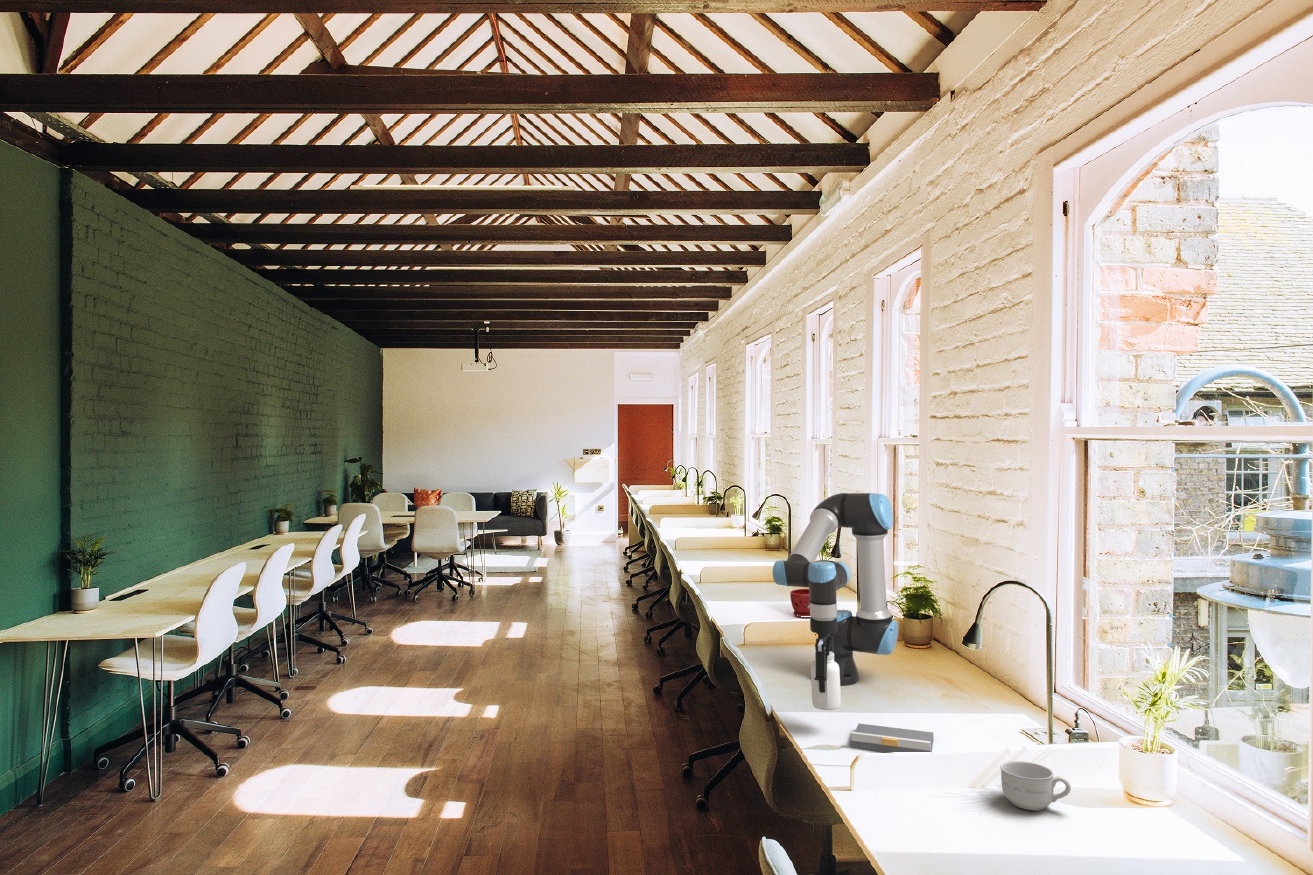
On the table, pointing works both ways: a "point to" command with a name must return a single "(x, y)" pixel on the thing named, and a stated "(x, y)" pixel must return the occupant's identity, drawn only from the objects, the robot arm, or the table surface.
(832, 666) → the pill bottle
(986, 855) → the table surface
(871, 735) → the shelf
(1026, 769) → the teacup
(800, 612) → the plant pot
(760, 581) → the table surface
